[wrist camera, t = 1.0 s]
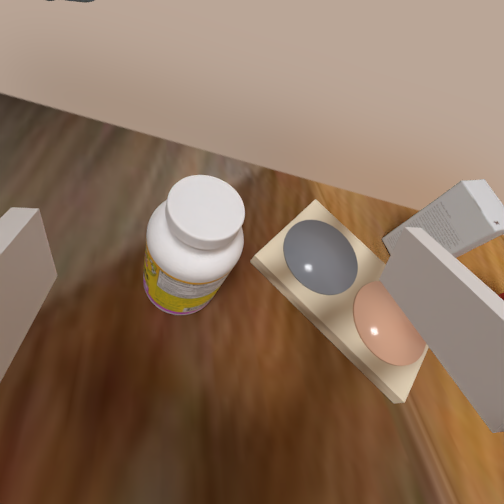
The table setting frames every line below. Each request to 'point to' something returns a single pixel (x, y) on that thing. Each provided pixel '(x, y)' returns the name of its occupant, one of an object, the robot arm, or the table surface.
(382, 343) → the terracotta pad
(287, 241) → the slate pad
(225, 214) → the supplement bottle
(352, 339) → the birch board
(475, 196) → the skincare box
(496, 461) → the table surface
